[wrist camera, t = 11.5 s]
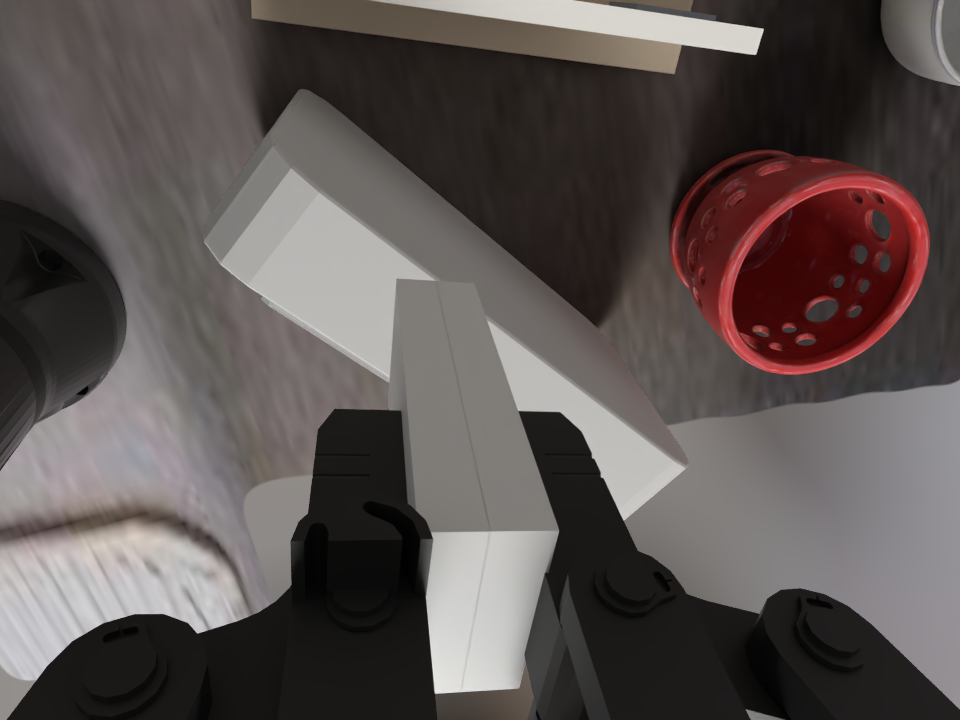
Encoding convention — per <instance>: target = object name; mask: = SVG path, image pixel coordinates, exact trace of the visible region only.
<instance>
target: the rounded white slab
mask: <svg viewBox="0 0 960 720" xmlns="http://www.w3.org/2000/svg"><path fill="white" fill-rule="evenodd" d="M204 241H205V244H206V245H207V247H208V248H209V249H210V251H211V252H212V254H213V255H214V256H215V258H216V259H217V260H218V262H219V263H220V264H221V265H222V266H223V267H224V268H225V269H227V270H228V271H229V272H230V273H232V274H233V275H234V276H235V277H237V278H238V279H239V280H240V281H242V282H243V283H244V284H245V285H247V286H248V287H249V288H251V289H253V290H254V291H256V292H257V293H258V294H259V296H260V298H261V299H262V300H263V301H264V302H265V303H266V304H267V305H268V306H270V307H271V308H273V309H274V310H276V311H277V312H279V313H281V314H282V315H284V316H285V317H287V318H288V319H290V320H291V321H293V322H295V323H296V324H298V325H299V326H301V327H302V328H304V329H306V330H307V331H309V332H310V333H312V334H313V335H315V336H316V337H318V338H320V339H321V340H323V341H324V342H326V343H327V344H329V345H331V346H332V347H334V348H335V349H337V350H338V351H340V352H341V353H343V354H345V355H346V356H348V357H349V358H351V359H352V360H354V361H356V362H357V363H359V364H360V365H362V366H363V367H365V368H366V369H368V370H370V371H371V372H373V373H374V374H376V375H377V376H379V377H381V378H382V379H384V380H385V381H387V382H388V383H389V381H390V366H391V351H392V337H393V322H394V307H395V293H396V278H398V279H414V280H431V281H447V282H463V283H474V284H475V287H476V290H477V293H478V296H479V298H480V301H481V304H482V307H483V310H484V313H485V316H486V319H487V322H488V325H489V328H490V330H491V333H492V336H493V339H494V342H495V345H496V348H497V351H498V354H499V357H500V360H501V362H502V365H503V368H504V371H505V374H506V377H507V380H508V383H509V386H510V389H511V392H512V394H513V397H514V400H515V403H516V406H517V409H518V411H542V412H561V413H562V414H563V415H564V416H565V417H566V418H567V419H569V420H570V421H571V422H572V423H573V424H574V425H575V426H576V427H577V428H578V429H579V430H581V431H582V433H583V435H584V438H585V440H586V442H587V444H588V446H589V448H590V450H591V452H592V459H595V461H596V463H597V465H598V467H599V470H600V472H601V478H604V480H605V482H606V484H607V487H608V489H609V491H610V493H611V495H612V497H613V499H614V501H615V504H616V506H617V508H618V510H619V512H620V514H621V516H622V518H623V521H624V520H625V519H626V518H627V517H628V516H630V515H631V514H632V513H633V512H635V511H636V510H637V509H638V508H639V507H641V505H643V504H644V503H645V502H647V501H648V500H649V499H650V498H651V497H652V496H654V495H655V494H656V493H657V492H658V491H660V490H661V489H662V488H663V487H664V486H665V485H667V484H668V483H669V482H670V481H671V480H673V479H674V478H675V477H676V476H677V475H679V474H680V473H681V472H682V471H683V470H685V469H686V468H687V466H688V465H689V461H688V459H687V457H686V455H685V453H684V452H683V450H682V449H681V447H680V446H679V444H678V443H677V441H676V440H675V438H674V437H673V435H672V434H671V432H670V431H669V429H668V428H667V426H666V425H665V423H664V422H663V420H662V419H661V417H660V416H659V414H658V413H657V411H656V410H655V408H654V407H653V405H652V404H651V402H650V401H649V399H648V398H647V396H646V395H645V393H644V392H643V390H642V389H641V387H640V386H639V384H638V383H637V381H636V380H635V378H634V377H633V375H632V374H631V372H630V371H629V369H628V368H627V366H626V365H625V363H624V362H623V360H622V359H621V357H620V356H619V354H618V353H617V351H616V350H615V348H614V347H613V345H612V344H611V343H610V342H609V340H608V339H607V338H606V337H605V336H604V335H603V334H602V333H601V332H600V330H599V329H598V328H597V327H596V326H595V325H593V324H592V323H591V322H590V321H589V320H588V319H587V318H586V317H585V316H584V315H582V314H581V313H580V312H579V311H578V310H576V309H575V308H574V307H573V306H572V305H570V304H569V303H568V302H567V301H566V300H564V299H563V298H562V297H561V296H560V295H558V294H557V293H556V292H555V291H554V290H552V289H551V288H550V287H549V286H548V285H546V284H545V283H544V282H543V281H542V280H541V279H539V278H538V277H537V276H536V275H535V274H533V273H532V272H531V271H530V270H529V269H527V268H526V267H525V266H524V265H523V264H521V263H520V262H519V261H518V260H517V259H515V258H514V257H513V256H512V255H511V254H509V253H508V252H507V251H506V250H505V249H503V248H502V247H501V246H500V245H499V244H497V243H496V242H495V241H494V240H493V239H492V238H490V237H489V236H488V235H487V234H486V233H484V232H483V231H482V230H481V229H480V228H478V227H477V226H476V225H475V224H474V223H472V222H471V221H470V220H469V219H468V218H466V217H465V216H464V215H463V214H462V213H460V212H459V211H458V210H457V209H456V208H454V207H453V206H452V205H451V204H450V203H449V202H447V201H446V200H445V199H444V198H443V197H441V196H440V195H439V194H438V193H437V192H435V191H434V190H433V189H432V188H431V187H429V186H428V185H427V184H426V183H425V182H423V181H422V180H421V179H420V178H419V177H417V176H416V175H415V174H414V173H413V172H411V171H410V170H409V169H408V168H407V167H405V166H404V165H403V164H402V163H401V162H400V161H398V160H397V159H396V158H395V157H394V156H392V155H391V154H390V153H389V152H388V151H386V150H385V149H384V148H383V147H382V146H380V145H379V144H378V143H377V142H376V141H374V140H373V139H372V138H371V137H370V136H368V135H367V134H366V133H365V132H364V131H362V130H361V129H360V128H359V127H358V126H357V125H355V124H354V123H353V122H352V121H351V120H349V119H348V118H347V117H346V116H345V115H343V114H342V113H341V112H340V111H338V110H337V109H336V108H334V107H333V106H332V105H331V104H329V103H328V102H327V101H325V100H324V99H322V98H321V97H319V96H317V95H316V94H314V93H313V92H311V91H309V90H305V89H299V90H298V92H297V93H296V94H295V96H294V97H293V99H292V100H291V101H290V103H289V104H288V106H287V107H286V108H285V110H284V111H283V113H282V114H281V115H280V117H279V118H278V120H277V121H276V122H275V124H274V125H273V127H272V128H271V129H270V131H269V132H268V133H267V135H266V136H265V138H264V139H263V140H262V142H261V143H260V145H259V146H258V147H257V149H256V150H255V152H254V153H253V154H252V156H251V157H250V159H249V160H248V162H247V163H246V164H245V166H244V167H243V169H242V170H241V172H240V173H239V174H238V176H237V177H236V179H235V180H234V182H233V183H232V185H231V186H230V187H229V189H228V190H227V192H226V193H225V195H224V196H223V198H222V199H221V200H220V202H219V203H218V205H217V206H216V208H215V209H214V210H213V212H212V213H211V215H210V216H209V218H208V219H207V221H206V222H205V223H204Z"/></svg>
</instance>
